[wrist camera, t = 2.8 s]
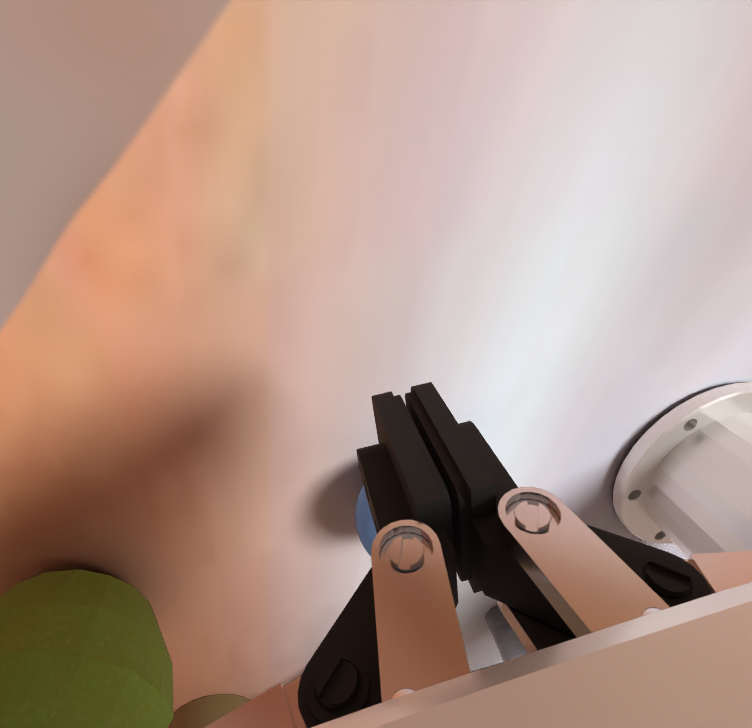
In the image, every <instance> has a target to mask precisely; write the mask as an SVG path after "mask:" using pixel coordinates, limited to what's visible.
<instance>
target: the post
mask: <svg viewBox="0 0 752 728" xmlns="http://www.w3.org/2000/svg"><path fill="white" fill-rule="evenodd" d="M486 621H487V623H488V626H489V628H490V630H491V633H492V635H493V638H494V640H495V642H496V645H497V647H498V649H499V652H500V654H501V657H502V659H503V661H504V662H505V661H508V660H511V659H514V658H517V657H520V656H523V655H526V654H529V653H528V652H527V650H526V649H525V647H524V646H523V644H522V643H521V641H520V640H519V638H518V636H517V635H516V633H515V632H514V630H513V629H512V627H511V626H510V624H509V623H508V621H507V620H506V618H505V617H504V615H503V614H502V612H501V610H500V608H499V606H496V607H494V608H492V609H491V610H490V611H489V612H488V614H487V616H486Z"/></svg>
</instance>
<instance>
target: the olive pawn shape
mask: <svg viewBox="0 0 752 728" xmlns="http://www.w3.org/2000/svg"><path fill="white" fill-rule="evenodd" d="M249 701H250V700H249V699H247V698H245V697H241V696H237V695H228V694H218V695H211V696H205V697H202V698H199V699H196V700H193V701H191V702H189V703H187V704H185V705H183V706H182V707H180V708H179V709H178V710H177V711H176V712H175V713H174V714H173V719H172V721H171V724H170V728H205V727H206V726H208V725H210V724H211V723H213V722H215V721H216V720H218V719H220V718H222V717H223V716H225V715H227V714H228V713H230V712H232V711H233V710H235V709H237V708H238V707H240V706H242V705H244V704H245V703H247V702H249Z"/></svg>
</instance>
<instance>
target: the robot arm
mask: <svg viewBox="0 0 752 728" xmlns="http://www.w3.org/2000/svg"><path fill="white" fill-rule="evenodd" d="M405 401H406V405H405V403H404V401H403V399H402V397H401V396H400V395H397V396H393V394H392V392H387V393H383V394H379V395H374V396H372V404H373V410H374V416H375V422H376V428H377V434H378V441H379V444H376V445H372V446H368V447H364V448H360V449H357V456H358V462H359V467H360V471H361V476H362V481H363V485H364V489H365V493H366V497H367V501H368V504H369V508H370V512H371V515H372V519H373V523H374V526H375V530H376V533H377V535H376V536H375V539H374V541H373V543H372V548H371V560H372V567H371V569H370V570H369V572H368V573H367V575H366V576H365V578H364V579H363V581H362V582H361V584H360V586H359V587H358V589H357V590H356V592H355V593H354V595H353V596H352V598H351V599H350V601H349V602H348V604H347V605H346V607H345V608H344V610H343V611H342V613H341V614H340V616H339V617H338V619H337V620H336V622H335V623H334V625H333V626H332V628H331V629H330V631H329V632H328V634H327V635H326V637H325V638H324V640H323V641H322V643H321V644H320V646H319V647H318V649H317V650H316V652H315V653H314V655H313V656H312V658H311V660H310V661H309V663H308V664H307V666H306V668H305V670H304V672H303V674H302V676H301V677H299V678H297V679H295V680H294V681H292V682H290V683H289V684H287V685H285V686H284V687H283V686H282V684H281V683H279V684H277V685H276V686H274V687H272V688H271V689H269V690H267V691H266V692H264V693H262V694H260V695H259V696H257V697H255V698H254V699H252V700H250V701H249V702H247V703H245V704H244V705H242V706H240V707H238V708H237V709H235V710H233V711H232V712H230V713H228V714H227V715H225V716H223V717H222V718H220V719H218V720H216V721H215V722H213V723H211V724H210V725H208V726H206V727H205V728H752V382H747V383H734V384H729V385H725V386H721V387H717V388H714V389H711V390H709V391H706V392H704V393H701V394H699V395H696V396H694V397H693V398H691V399H689V400H687V401H685V402H684V403H682V404H680V405H678V406H677V407H675V408H674V409H673V410H671V411H670V412H668V413H667V414H666V415H664V416H663V417H661V418H660V419H659V420H658V421H657V422H656V423H655V424H654V425H653V426H651V427H650V428H649V429H648V430H647V431H646V432H645V433H644V434H643V435H642V437H641V438H640V439H639V440H638V441H637V442H636V444H635V445H634V446H633V447H632V449H631V450H630V452H629V453H628V455H627V456H626V458H625V460H624V461H623V463H622V465H621V468H620V470H619V472H618V474H617V477H616V481H615V485H614V489H613V505H614V508H615V512H616V515H617V516H618V517H619V519H620V520H621V522H622V523H623V524H624V525H625V526H626V527H627V528H628V529H629V530H630V531H631V532H632V533H633V534H634V535H635V536H637V537H639V538H641V539H643V540H645V541H649V542H653V543H674V544H675V545H676V546H677V547H678V548H679V549H680V550H681V551H682V552H683V553H684V555H685V556H686V557H687V558H688V559H686V560H684V559H682V558H680V557H678V556H675V555H673V554H671V553H669V552H666V551H663V550H660V549H657V548H654V547H651V546H648V545H645V544H642V543H639V542H636V541H633V540H630V539H627V538H624V537H621V536H618V535H615V534H613V533H610V532H607V531H604V530H601V529H598V528H595V527H592V526H589V525H586V524H585V523H584V522H583V521H582V520H580V519H579V518H578V517H577V516H576V515H575V514H574V513H573V512H572V511H571V510H570V509H569V508H568V507H567V506H566V505H565V504H564V503H563V502H562V501H561V500H560V499H559V498H557V497H556V496H555V495H553V494H552V493H550V492H548V491H545V490H543V489H540V488H535V487H519V488H518V487H517V485H516V484H515V482H514V481H513V480H512V478H511V477H510V475H509V474H508V472H507V471H506V469H505V468H504V467H503V465H502V464H501V462H500V461H499V459H498V458H497V456H496V455H495V454H494V452H493V451H492V449H491V448H490V446H489V445H488V443H487V442H486V441H485V439H484V438H483V436H482V435H481V433H480V432H479V430H478V429H477V428H476V426H475V425H474V424H473V423H472V422H471V421H468V422H464V423H460V424H458V423H457V421H456V420H455V418H454V417H453V415H452V413H451V412H450V410H449V409H448V407H447V406H446V404H445V403H444V401H443V399H442V398H441V396H440V395H439V393H438V392H437V390H436V389H435V387H434V385H433V384H432V383H431V382H429V383H425V384H421V385H417V386H412V387H411V392H410V393H406V394H405ZM456 572H457V574H458V576H459V578H460V580H461V581H466V580H468V581H469V583H470V585H471V587H472V590H473V592H474V593H476V592H480V591H483V592H484V594H485V595H486V596H488V597H491V598H493V599H495V600H497V604H498V606H499V608H500V610H501V612H502V614H503V615H504V617H505V618H506V620H507V621H508V623H509V624H510V626H511V627H512V629H513V630H514V632H515V633H516V635H517V636H518V638H519V640H520V641H521V643H522V644H523V646H524V647H525V649H526V650H527V652H528V653H529V654H526V655H523V656H520V657H517V658H514V659H511V660H508V661H505V662H502V663H499V664H496V665H493V666H490V667H487V668H484V669H481V670H478V671H475V672H472V673H470V669H469V664H468V660H467V656H466V652H465V647H464V643H463V639H462V634H461V630H460V626H459V622H458V617H457V613H456V606H457V604H458V591H457V574H456Z"/></svg>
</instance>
